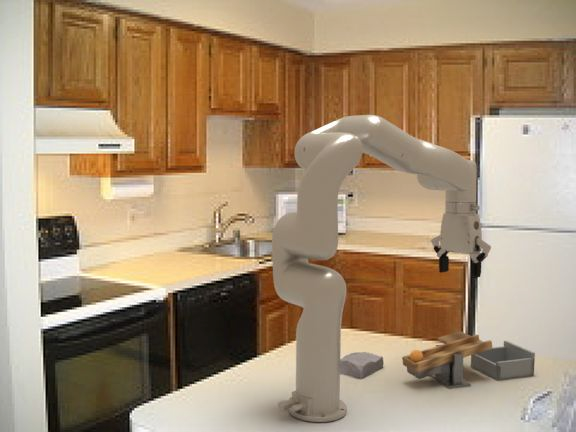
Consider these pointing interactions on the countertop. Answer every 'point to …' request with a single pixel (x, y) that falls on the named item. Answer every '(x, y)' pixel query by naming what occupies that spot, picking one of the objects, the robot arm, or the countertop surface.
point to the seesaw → (445, 353)
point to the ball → (416, 356)
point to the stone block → (360, 364)
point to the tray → (505, 362)
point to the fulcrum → (452, 373)
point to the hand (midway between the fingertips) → (459, 274)
